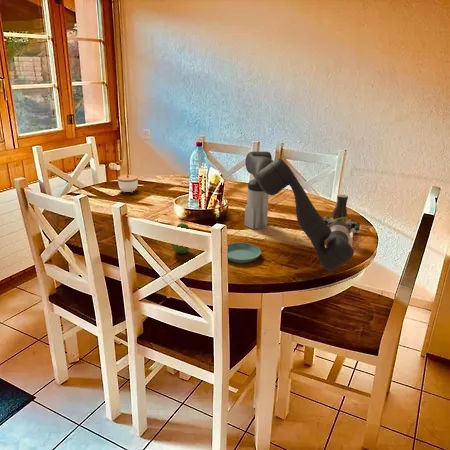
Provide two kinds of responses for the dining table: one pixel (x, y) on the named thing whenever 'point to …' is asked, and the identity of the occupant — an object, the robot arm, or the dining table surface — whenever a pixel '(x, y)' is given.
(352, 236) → the channel
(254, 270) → the dining table surface
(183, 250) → the avocado
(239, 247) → the saucer
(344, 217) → the sauce bottle
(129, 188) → the lidded jar
